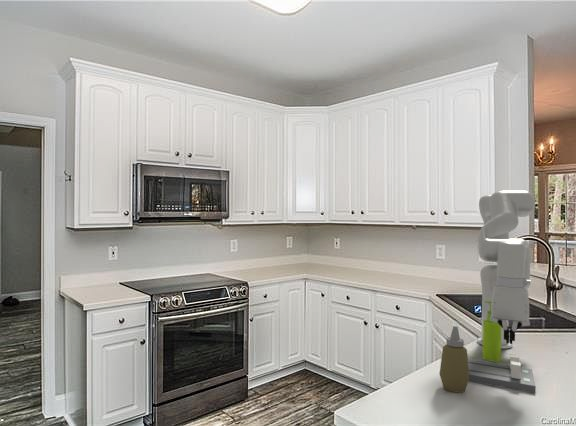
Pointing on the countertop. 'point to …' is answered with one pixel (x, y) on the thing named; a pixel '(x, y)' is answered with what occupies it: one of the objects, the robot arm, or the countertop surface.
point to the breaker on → (514, 358)
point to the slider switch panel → (500, 375)
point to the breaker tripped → (515, 370)
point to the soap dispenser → (491, 338)
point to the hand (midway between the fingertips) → (509, 342)
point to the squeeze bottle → (454, 363)
